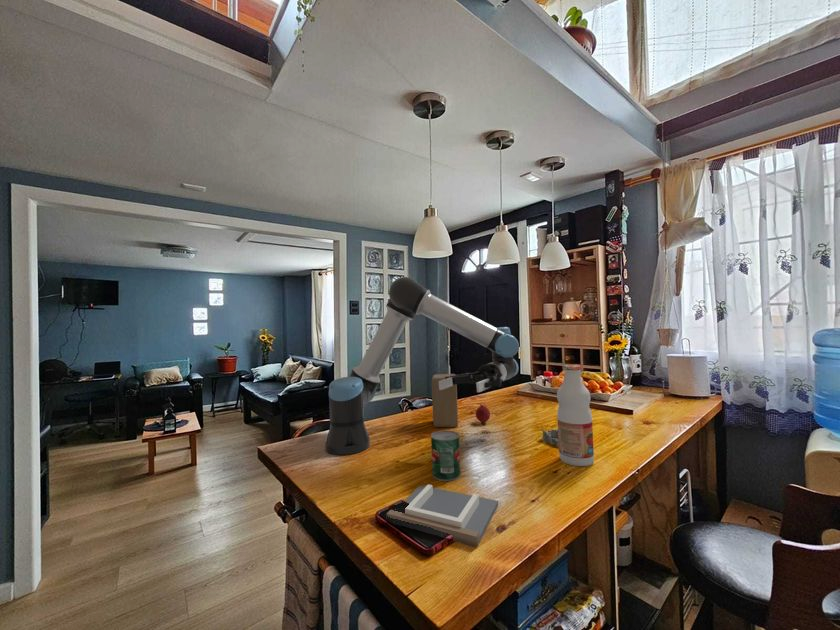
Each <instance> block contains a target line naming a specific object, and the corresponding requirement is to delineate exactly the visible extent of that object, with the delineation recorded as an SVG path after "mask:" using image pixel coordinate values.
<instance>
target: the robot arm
mask: <svg viewBox="0 0 840 630" xmlns="http://www.w3.org/2000/svg"><path fill="white" fill-rule="evenodd" d="M388 296H389V299H388V301H387V303H386V305H385V307H386V311H387V312H386V313H385V315H384V317H383V319H382V321H381V323H380V325H379V327H378V329H377V331H376V332H375V334H374V337H373V338H372V339H371V342H370V344H369V346H368V348H367V350H366V352H365V354H364V355H363V358H362V359H361V361H360V363H359V365H358V366H354V367H353V368H352V370H351V372H350V374H349V376H343V377H341V378H336V379H334V380H332V381H331V382H330V383H329V386H328V400H329V422H330V423H329V430H328V434H327V437H326V440H325V451H326V452H327V453H328V454H331V455H335V456H337V455H338V456H339V455H340V456H346V455H352V454H353V455H354V454H357V453H361V452H364V451H365V450H367V449H368V448H369V447H370V446H371V440H370V439H371V438H370V436H369V434H368V430H367V428H366V425H365V414H364V413H365V409H364V407H366V405H367V404H369V403H370V402H371V401H372V400H373V399H374V398H375V396H376V393H377V389H378V386H379V384H380V383H381V377H380V374H381V372H382V370H383V368H384V367H385V365H386V364H387V363H386V362H387V361H388V360H389V357H390V354H392V351H393V349H394V348H395V345H396V344H397V342H398V340H399V338H400V336H401V334H402V332H403V330H404V328H405V326H406V325H407V323H408V322H409V321H412V320H414V318H415V316H416V315H417V316H418V315H423V316H424V317H427V318H429V319H431V320H432V321H434V322H436V323H438V324H441V326H443V327H445V328H448V329H450V330H452V331H454V332H456V333H457V334H459V335H461V336H463V337H465V338H467V339H469V340H471V341H473V342H475V343H477V344H478V345H480V346H483V347H484V348H486V349H488V350H490V351H491V357H492V362H489V363H487V364H483V365H481V366H479V367H478V370H477V371H475V372H465V373H461V374H455V375H453V376H448V377H447V376H446V377H445V379H444V380H441V381H438V382H439V390H443V389H445V388H448V387H451V386H453V385H455V384H457V385H460V384H470V385H472V384H473V385H474V384H476V393H481V392H483V391H486V390H488V389H490V388H496V387H497V388H501V387H502V382H504V381H507V380H510V379H512V378H513V377H515V376H516V375H517V374H518V373H519V368H520V367H519V364H518V362H517V360H516V359H514V356H516V354H517V353H518V352H519V349H520V344H519V341H518V339H517V338H516V337H515V336H514V335H513V334H512V333H511V329H510V327H508V326H501V327H500V326H499V327H495V326H494V325H492V324H490V323H489V322H485V321H484V320H482V319H480V318H478V317H476V316H474V315H472V314H470V313H468V312H466V311H465V310H462V309H461V308H459V307H457V306H455V305H453V304H451V303H449V302H447V301H445V300H443V299H442V298H439V297H437V296H436V295H434V294H432V293H431V290H430V289H428V288H426V287H424V286H423V285H422V284H420V283H419V282H418V281H416V280H415V279H413V278H411V277H409V276H401V277H398V278H397V279H394V281H393V282H392V283H391V284H390V287H389V290H388ZM495 386H496V387H495Z"/></svg>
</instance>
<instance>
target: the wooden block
mask: <svg viewBox="0 0 840 630" xmlns="http://www.w3.org/2000/svg"><path fill="white" fill-rule="evenodd" d="M453 375H456V374H455V373H437V374H436V373H435V374H433V375H432V378H431V398H432V399H431V401H432V403H431V404H432V424H433V427H435V428H457V427H458V426H459V412H458V411H459V410H458V388H457V386H458V384H455V385H453V386H451V387H448V388H445V389H443V390H439V382H438V381H441V380H444V379H445V377H446V376H447V377H448V376H453Z"/></svg>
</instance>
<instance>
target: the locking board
mask: <svg viewBox="0 0 840 630" xmlns="http://www.w3.org/2000/svg"><path fill="white" fill-rule="evenodd" d="M404 501H405V502H407V503H409V505H408V506H407V507H406V508H405V513H402V512H398V511H394V510H395V509H394V510H393V509H390V510H389V511H387V512H386V517H387V516H388V517H390V518H393V519H398V520H401V521H405V522H409V523H413V524H419V525H423V526H427V527H431V528H433V529H435V530H438V531H441V532H444V533H448V534H451V535H452V536H453V541H452V542H455V543H459V544H464V545H467V546H471V547H474V548H478V547H479V544H480V543H481V540H482V539H483V536H484V534H485V532H486V531H487V528H488V527H489V524H490V522H491V521H492V519H493V517H494V514H495V513H496V511H497V508H498V507H499V500H496V499H491V498H486V497H482V496H480V494H477V493H473V494H471V495H470V494H468V493H467V494H466V493H462V492H456V491H452V490H447V489H442V488H437V487H434V486H433V485H432V484H427V485H422V484H420V485H419V486H417V488H416V489H414V491H413V492H412V493H411V494H410V495H409V496H407V498H406V499H404Z"/></svg>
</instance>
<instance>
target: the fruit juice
mask: <svg viewBox="0 0 840 630" xmlns="http://www.w3.org/2000/svg"><path fill="white" fill-rule="evenodd" d="M562 370H563V372H564V377H563V381H562V384H561V385H560V386H559V388H557V393H556V399H557V401H558V407H557V412H556V413H557V416H556V417H557V418H556V420H557V429H558V437H557V439H558V440H559V447H558V454H559V455H558V456H559V459H560V461H562V462H563V463H565V464H567V465H570V466H573V467H588V466H591V465H593V464H594V462H595V461H594V460H595V453H594V451H595V450H594V449H595V448H594V432H593V415H592V413H593V412H592V411H591V408H590V403H591V393H590V390H589V389H588V388H587V387H586V386H585V384H584V382H583V380H582V375H581V372H582V366H581V365H580V364H564V365H563V367H562Z"/></svg>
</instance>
